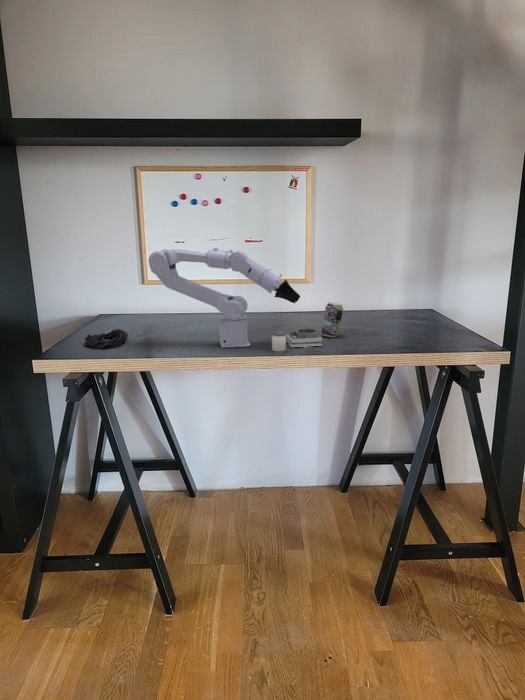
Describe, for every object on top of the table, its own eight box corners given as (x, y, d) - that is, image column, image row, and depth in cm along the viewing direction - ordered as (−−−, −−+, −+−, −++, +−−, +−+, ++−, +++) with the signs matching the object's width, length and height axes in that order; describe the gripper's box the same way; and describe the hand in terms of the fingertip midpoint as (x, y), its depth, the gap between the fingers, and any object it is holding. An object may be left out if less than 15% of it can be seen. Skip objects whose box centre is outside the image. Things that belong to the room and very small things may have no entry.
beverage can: (318, 335, 183) (318, 302, 180) (336, 333, 185) (337, 300, 182) (326, 339, 177) (327, 305, 174) (345, 337, 180) (346, 303, 176)
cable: (123, 350, 168) (122, 337, 167) (79, 351, 167) (78, 338, 166) (130, 337, 185) (129, 325, 184) (90, 339, 183) (88, 327, 182)
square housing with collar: (291, 348, 166) (291, 334, 165) (286, 342, 174) (286, 329, 173) (321, 346, 168) (321, 333, 167) (315, 340, 175) (315, 327, 174)
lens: (272, 352, 161) (272, 334, 160) (270, 349, 166) (270, 330, 164) (287, 352, 162) (287, 333, 161) (284, 348, 166) (284, 330, 165)
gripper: (269, 263, 158) (306, 287, 158) (268, 269, 172) (302, 291, 173) (257, 282, 158) (294, 306, 158) (256, 286, 172) (290, 308, 173)
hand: (297, 300), depth 165 cm, fingers open, 7 cm apart
